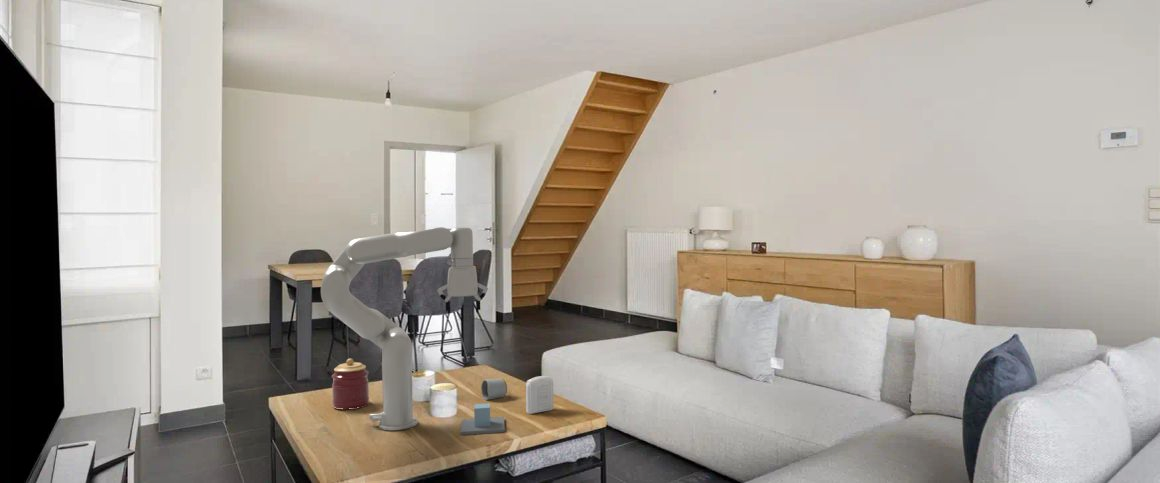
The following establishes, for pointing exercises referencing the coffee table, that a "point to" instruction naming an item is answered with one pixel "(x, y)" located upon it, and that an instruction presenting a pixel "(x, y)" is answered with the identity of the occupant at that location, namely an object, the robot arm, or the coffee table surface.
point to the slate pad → (494, 427)
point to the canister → (350, 385)
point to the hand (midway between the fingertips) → (463, 312)
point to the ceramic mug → (493, 388)
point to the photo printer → (539, 394)
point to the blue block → (482, 415)
